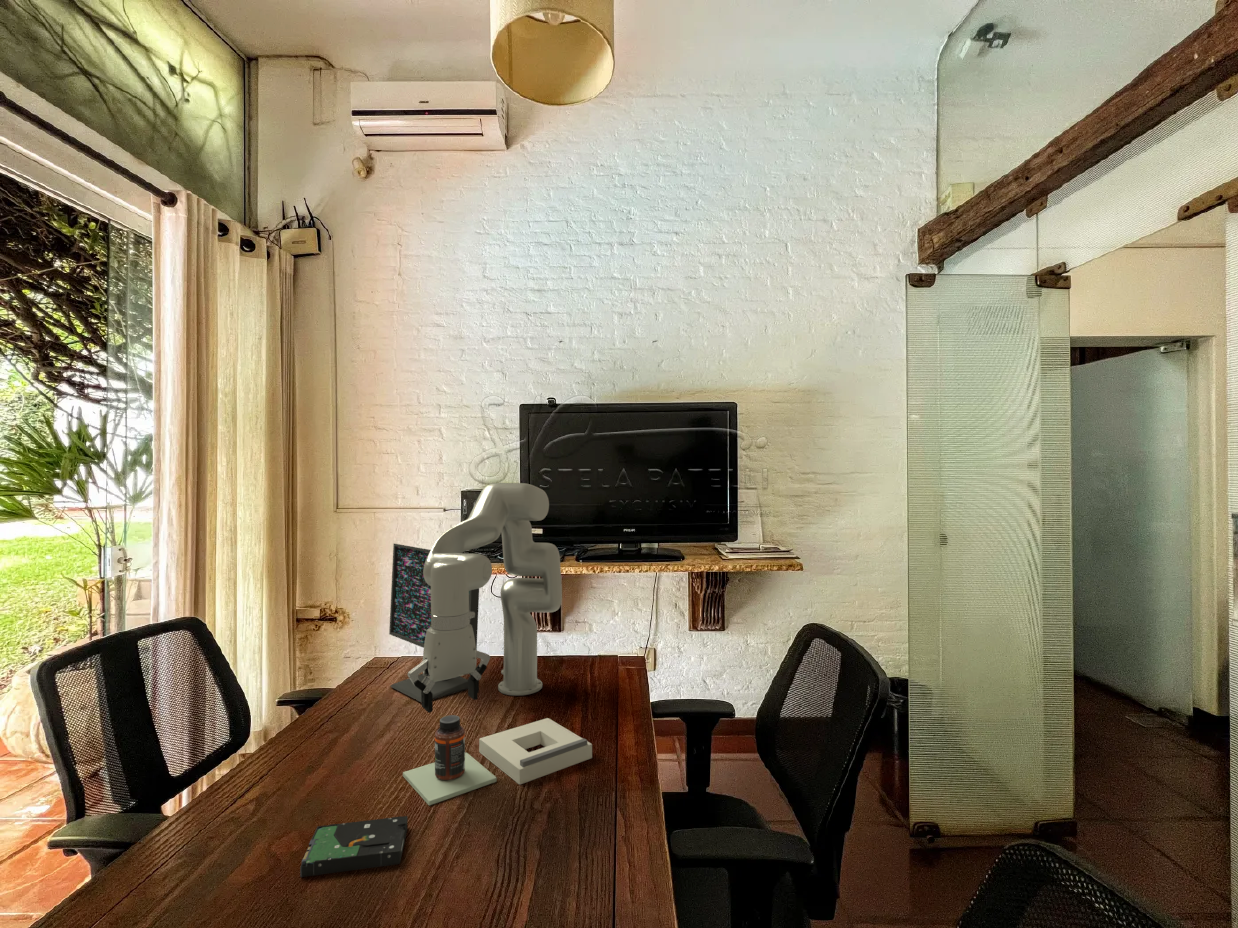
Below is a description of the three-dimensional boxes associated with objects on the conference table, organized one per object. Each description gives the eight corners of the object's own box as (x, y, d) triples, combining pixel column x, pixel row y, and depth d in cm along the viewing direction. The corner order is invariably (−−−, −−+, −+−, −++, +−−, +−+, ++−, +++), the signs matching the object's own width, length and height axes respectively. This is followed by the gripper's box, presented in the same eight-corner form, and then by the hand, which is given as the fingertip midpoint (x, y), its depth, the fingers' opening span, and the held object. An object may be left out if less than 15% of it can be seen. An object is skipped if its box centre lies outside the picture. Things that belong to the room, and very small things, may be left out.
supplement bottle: (470, 769, 125) (470, 714, 125) (454, 783, 120) (454, 726, 120) (446, 765, 127) (446, 711, 127) (428, 778, 122) (428, 722, 122)
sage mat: (402, 776, 124) (402, 772, 124) (466, 755, 133) (466, 752, 133) (429, 805, 113) (429, 801, 113) (496, 781, 122) (496, 777, 122)
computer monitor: (369, 677, 183) (370, 545, 184) (419, 664, 195) (419, 540, 196) (447, 717, 154) (448, 560, 154) (499, 700, 166) (500, 553, 166)
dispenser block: (479, 751, 135) (479, 733, 135) (547, 730, 146) (547, 713, 146) (519, 784, 121) (519, 764, 121) (592, 757, 132) (592, 739, 132)
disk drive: (407, 830, 107) (316, 841, 103) (408, 814, 107) (316, 824, 103) (400, 867, 97) (299, 881, 93) (401, 850, 97) (299, 862, 93)
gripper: (480, 610, 132) (481, 688, 132) (401, 624, 121) (402, 709, 122) (497, 617, 126) (497, 698, 127) (415, 633, 115) (415, 722, 116)
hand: (450, 703), depth 124 cm, fingers open, 9 cm apart
